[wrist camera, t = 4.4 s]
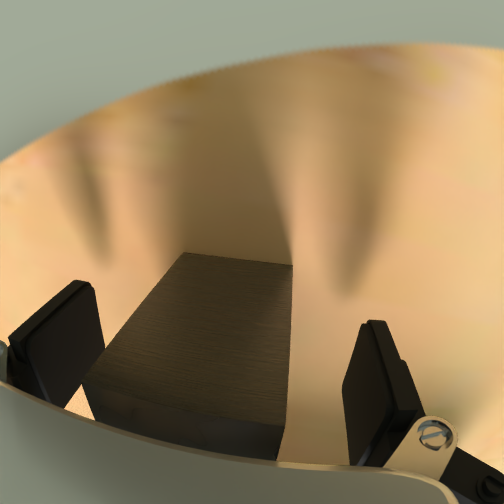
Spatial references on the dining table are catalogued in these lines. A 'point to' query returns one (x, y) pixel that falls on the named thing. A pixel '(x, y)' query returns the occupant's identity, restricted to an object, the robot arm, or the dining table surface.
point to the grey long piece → (202, 359)
